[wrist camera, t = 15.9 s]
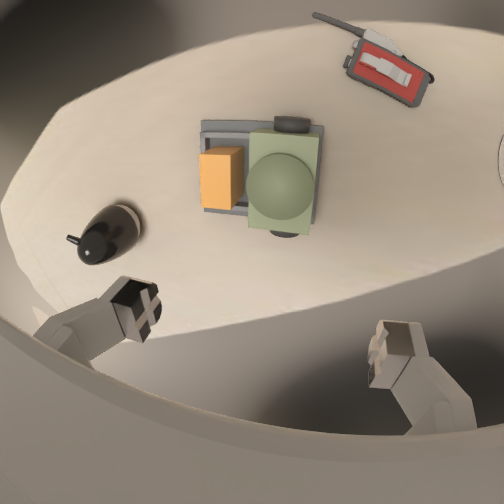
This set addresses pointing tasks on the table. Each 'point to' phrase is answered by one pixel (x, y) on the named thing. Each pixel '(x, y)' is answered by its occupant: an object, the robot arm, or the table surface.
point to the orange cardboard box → (221, 176)
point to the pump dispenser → (108, 235)
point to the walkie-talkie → (383, 65)
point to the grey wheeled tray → (273, 170)
